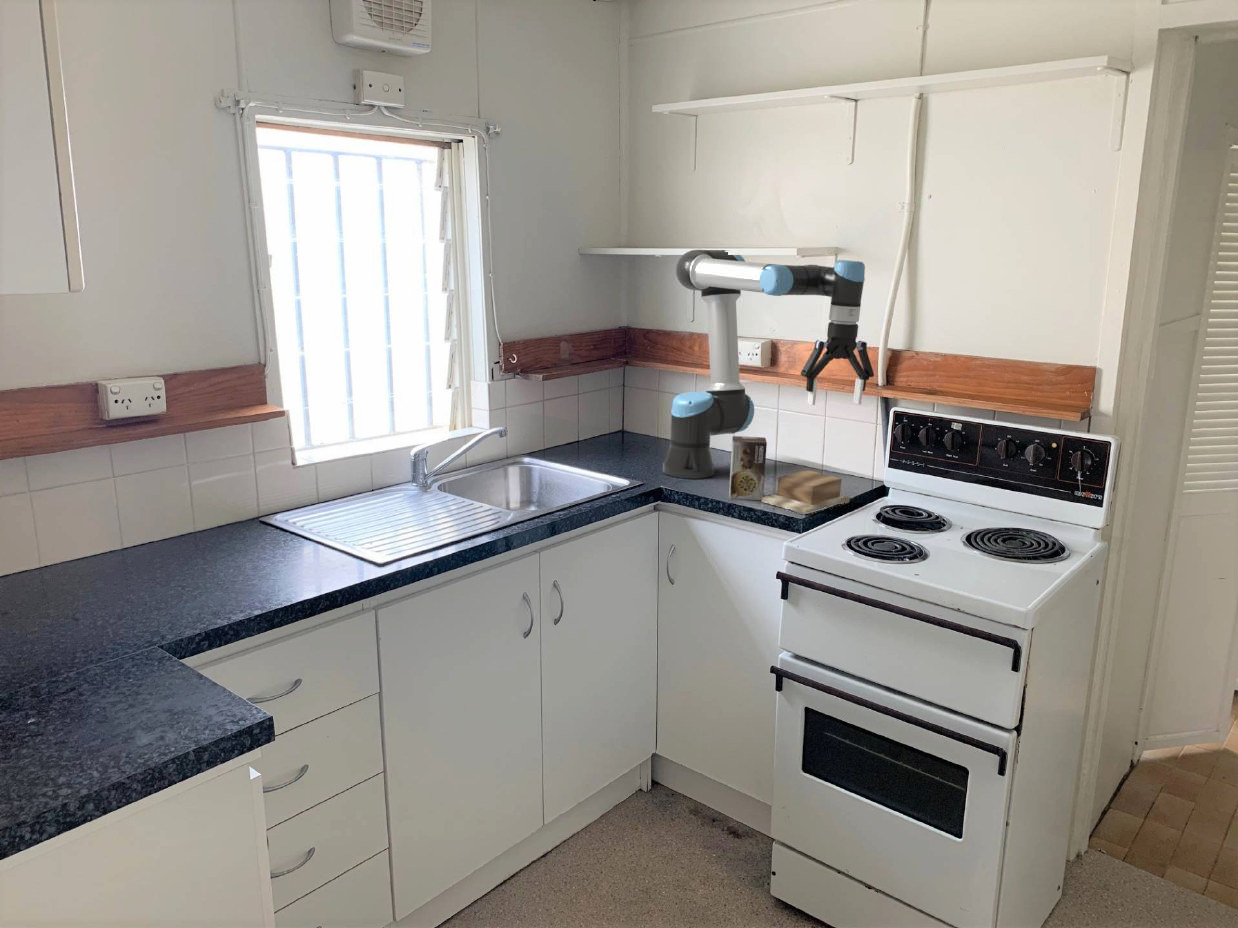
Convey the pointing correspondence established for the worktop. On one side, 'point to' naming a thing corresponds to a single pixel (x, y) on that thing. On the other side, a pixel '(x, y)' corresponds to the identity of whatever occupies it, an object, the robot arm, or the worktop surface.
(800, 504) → the board
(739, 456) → the cookie box
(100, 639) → the worktop surface
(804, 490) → the base block
